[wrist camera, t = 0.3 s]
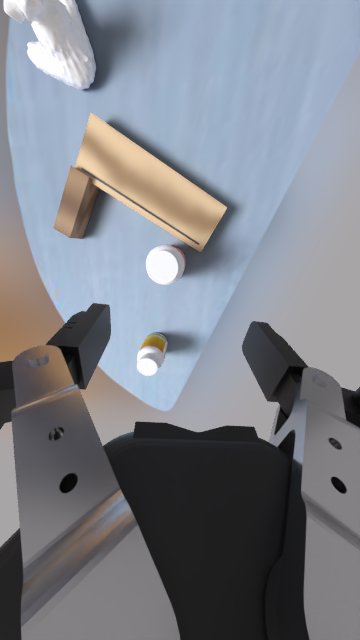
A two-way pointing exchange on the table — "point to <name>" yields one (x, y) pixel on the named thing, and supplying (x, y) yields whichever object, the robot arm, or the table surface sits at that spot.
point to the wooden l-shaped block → (134, 188)
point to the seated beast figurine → (57, 39)
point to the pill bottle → (165, 264)
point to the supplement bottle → (152, 354)
